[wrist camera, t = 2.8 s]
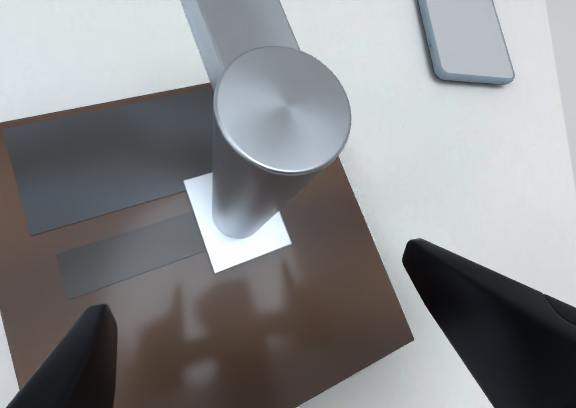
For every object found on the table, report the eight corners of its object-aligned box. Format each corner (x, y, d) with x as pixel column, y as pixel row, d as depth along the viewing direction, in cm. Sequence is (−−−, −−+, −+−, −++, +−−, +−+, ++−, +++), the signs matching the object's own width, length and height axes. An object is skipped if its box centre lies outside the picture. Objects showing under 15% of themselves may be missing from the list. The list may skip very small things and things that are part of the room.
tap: (285, 246, 18) (427, 194, 6) (214, 274, 17) (221, 275, 5) (225, 87, 20) (248, -205, 8) (155, 101, 18) (49, -226, 6)
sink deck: (401, 335, 20) (416, 340, 19) (71, 518, 14) (55, 546, 13) (295, 77, 23) (301, 63, 21) (-24, 142, 17) (-47, 129, 15)
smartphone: (479, -50, 30) (518, 81, 27) (471, -41, 31) (508, 87, 28) (407, -66, 28) (440, 74, 25) (401, -55, 29) (432, 82, 26)
